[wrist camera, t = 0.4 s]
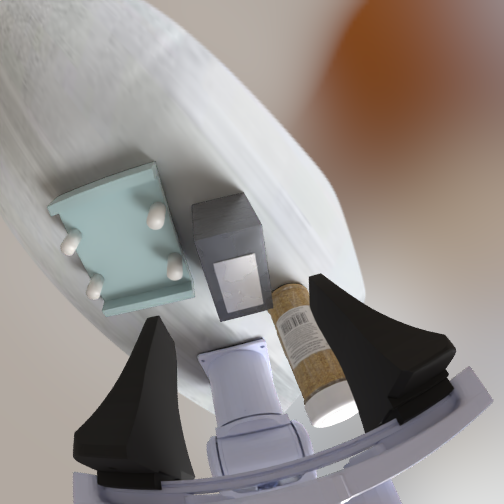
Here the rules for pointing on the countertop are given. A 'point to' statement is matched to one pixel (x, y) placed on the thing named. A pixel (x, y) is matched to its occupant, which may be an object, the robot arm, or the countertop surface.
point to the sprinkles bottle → (311, 358)
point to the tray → (125, 241)
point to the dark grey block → (232, 256)
